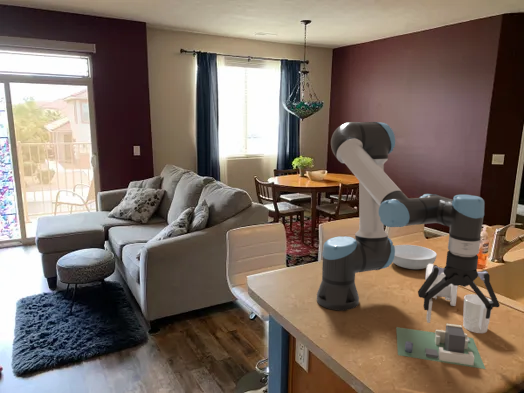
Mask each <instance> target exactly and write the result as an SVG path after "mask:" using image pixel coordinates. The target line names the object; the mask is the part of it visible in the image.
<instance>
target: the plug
mask: <svg viewBox="0 0 524 393" xmlns="http://www.w3.org/2000/svg"><path fill="white" fill-rule="evenodd" d="M445 331H446V332H445V342H444V348H445V351H450V352H457V353H463V354H464V347H465V338H466V337H465V334H466V333H465V332H464V329H463V324H462V325H460V324H456V323H455V324H453V323H446V324H445ZM464 333H465V334H464Z"/></svg>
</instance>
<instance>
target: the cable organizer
mask: <svg viewBox="0 0 524 393" xmlns="http://www.w3.org/2000/svg"><path fill="white" fill-rule="evenodd" d="M434 265H435V264H434V263H433V264H428V265H427V268H425V279H424V280H425V281H426V279H427V278H428V277H429V275H430V274H431V273H432V269H433V266H434ZM444 277H445V274H444V273H441V274H440V275H438V276H437V278H436V279H435V281H434V282H433V284H432V285H431V286H430V288H429V289H428V290H427V291H429V290H430V289H431V288H432V287H434V286H435V285H436V284H437V283H439V282H440V281H441V280H442V279H443V278H444ZM458 286H459V285H458ZM458 286H455V285H453V284H450V285H449V286H446V287H445V288H444V289H442V290H441V291H440V292H439V293H437V294H436V295H435V296H434V297H432V298H433V299H437V298H438V297H441V298H444V301H449V304H450V306H451V307H456V305H457V296H458Z"/></svg>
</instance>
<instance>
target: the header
mask: <svg viewBox="0 0 524 393" xmlns="http://www.w3.org/2000/svg"><path fill="white" fill-rule="evenodd" d="M445 332H446V330H443V329H435V331H434V333H435V344H436V345H439V344H440V343H444V342H445ZM464 334H465V337H466V338H465V347H464V349H467V348H468V339H467V337H468V333H466V332H464ZM438 356H439V360H441V361H448V362H454V363H460V364H466V365H473V364H474V355H473V352H469V351H468V354H463V353H457V352H450V351H444V350H443V348H442V347H439V352H438Z"/></svg>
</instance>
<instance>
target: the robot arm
mask: <svg viewBox="0 0 524 393" xmlns="http://www.w3.org/2000/svg"><path fill="white" fill-rule="evenodd" d="M330 146H331V151H332V153H333V155H334V157H335V158H336V159H337V161H338V162H340V163H341V164H345V165H346V167H347V168H348V169H349V170H350V172H351V173H352V174H353V175H354V176H355V178H356V179H357V180H358V183H359V184H358V186H359V187H358V188H359V189H358V190H359V191H358V192H359V194H358V196H359V197H358V200H359V202H358V203H359V204H358V206H359V208H358V209H359V210H358V211H359V213H358V214H359V216H358V217H359V220H358V221H359V224H358V226H359V227H358V228H359V229H358V230H357V231H356V232H355V234H354V235H355V236H354V237H355V238H354V237H352V236H345V235H344V236H334V237H331V238H328V239H327V240H325V242H324V243H323V246H322V248H323V249H322V252H321V253H322V254H321V255H322V267H321V270H322V271H321V272H322V273H321V277H322V278H321V282H320V284H319V287H318V290H317V293H316V301H317V303H318V305H320V306H321V307H323V308H325V309H328V310H333V311H348V310H352V309H355V308H357V307H358V306H359V304H360V303H359V302H360V297H359V292H358V289H357V286H356V283H355V280H356V274H357V273H363V272H371V271H380V270H382V269H386V268H388V267H390V265H392V263H393V260H394V256H395V247H394V246H395V245H393V244H394V242H393V241H392V239H391V238H389V234H388V232H386V231H385V229H384V228H385V227H388V228H403V227H409V226H417V225H419V226H420V225H427V224H439V225H443V226H446V227H449V231H448V232H449V233H448V234H449V236H448V244H447V250H448V251H447V252H446V262H445V266H444V267H441V266H438V265H437V264H434V266H433V269H432V273H431V274H430V275H429V277H428V278H427V279H426V280H425V281H424V282H423V284H422V285H421V287H420V288H419V289H418V290H417V294H418V297H419V298H422V299H423V309H424V311H426V323H427V324H430V323H431V319H432V309H433V308H432V307H433V299H432V297H434V296H435V295H436V294H437V293H439V292H440V291H441V290H442V289H444V288H445V287H446V286H449V285H450V284H453V285H455V286H461V287H468V286H469V287H470V288H471V289H472V290H473V292H474V294H476V295H478V297H479V298H480V299H481V300H482V302H483V303H484V304H481V311H480V319H479V327H480V330H481V331H484V326H485V319H489V318H490V319H491V315H490V313H491V314H492V310H493V308H499V307H500V303H499V300H498V298H497V296H496V293H495V291H494V288H493V286H492V284H491V282H490V281H491V280H490V278H491V276H490V274H489V272H488V271H487V270H482V271H478V270H477V269H478V262H479V261H478V260H479V253H480V246H481V237H482V236H481V235H482V234H481V233H482V228H483V223H484V216H485V199H483V198H482V197H481V196H477V195H472V194H456V195H454V196H453V199H452V198H449V197H445V196H441V195H438V194H432V193H424V194H423V195H421V196H419V197H414V198H412V197H411V198H409V197H408V196H407V195H406V194H405V193H404V192H403V191H402V189H401V188H400V187H399V186H397V184H396V183H395V182H394V181H393V180H392V179H391V178H390V176H388V174H387V173H386V172H385V170H384V169H385V165H384V164H385V163H386V162H387V161H388V160H389V155H390V154H391V153H392V152H393V151H394V148H395V146H396V136H395V132H394V130H393V129H392V127H391V126H390V125H389V124H387V123H386V122H380V121H363V122H362V121H361V122H359V121H350V122H349V121H348V122H345V123H343V124H341V125H339V126H338V127H337V128H336V129H335V130H334V132H333V133H332V135H331V139H330ZM441 273H444V274H445V277H444V278H443V279H442V280H441V281H440V282H439V283H437V284H436V285H435V286H434V287H432V288H431V289H430V290H429V291H427V290H428V289H429V288H430V286H431V285H432V284H433V282H434V281H435V279H436V278H437V276H438V275H440V274H441ZM478 277H479V278H480V280H481V281H483V284H484V286H485V288H486V291H487V292H488V295H489V297H490V299H491V300H492V301H488V299H487V298H488V297H487V296H486V295H485V294H484V293H483V292H482V291H481V289H480V288H479V286H477V284H476V283H475V280H476V279H477V278H478ZM486 297H487V298H486Z"/></svg>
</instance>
